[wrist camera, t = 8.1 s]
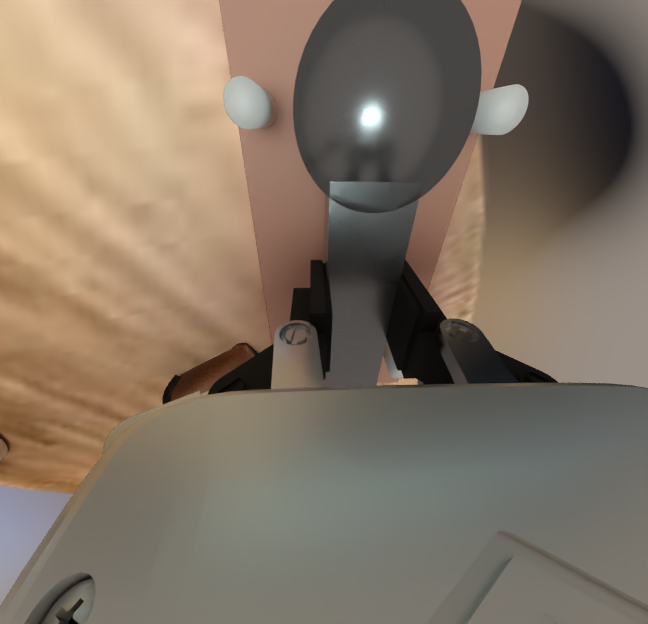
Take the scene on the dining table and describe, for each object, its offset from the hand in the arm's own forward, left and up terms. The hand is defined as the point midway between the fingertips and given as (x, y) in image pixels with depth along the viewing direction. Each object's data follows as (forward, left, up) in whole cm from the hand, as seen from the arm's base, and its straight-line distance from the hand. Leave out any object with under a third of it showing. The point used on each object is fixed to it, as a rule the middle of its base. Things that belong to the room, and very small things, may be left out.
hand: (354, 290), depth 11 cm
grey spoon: (0, 0, -1) cm, 1 cm away
